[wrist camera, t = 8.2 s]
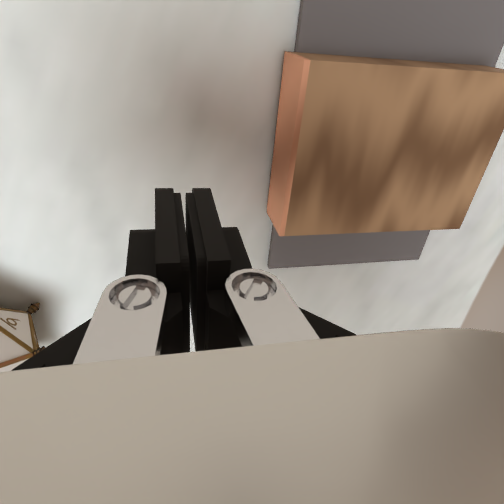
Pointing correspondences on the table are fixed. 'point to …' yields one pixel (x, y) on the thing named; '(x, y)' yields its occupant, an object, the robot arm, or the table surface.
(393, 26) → the mat
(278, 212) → the walnut slab
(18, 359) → the game die
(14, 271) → the table surface
